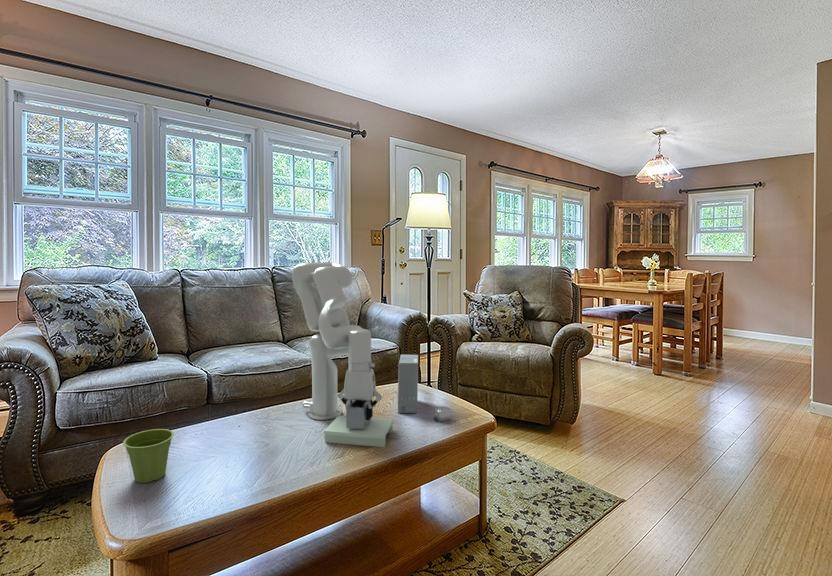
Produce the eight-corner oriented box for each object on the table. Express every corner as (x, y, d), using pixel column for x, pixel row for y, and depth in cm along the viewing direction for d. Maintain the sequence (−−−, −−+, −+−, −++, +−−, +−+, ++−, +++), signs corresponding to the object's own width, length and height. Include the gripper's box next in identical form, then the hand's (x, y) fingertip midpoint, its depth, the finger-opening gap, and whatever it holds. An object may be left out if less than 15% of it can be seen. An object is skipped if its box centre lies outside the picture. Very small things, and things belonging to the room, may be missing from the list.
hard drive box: (417, 414, 168) (417, 363, 166) (397, 413, 168) (397, 363, 166) (417, 400, 183) (418, 354, 182) (399, 400, 183) (400, 353, 182)
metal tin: (433, 422, 160) (433, 411, 160) (435, 416, 166) (435, 406, 165) (449, 423, 159) (449, 412, 159) (450, 417, 165) (450, 407, 164)
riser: (324, 442, 142) (324, 431, 141) (338, 426, 155) (338, 415, 155) (383, 447, 138) (383, 435, 138) (393, 430, 152) (393, 419, 152)
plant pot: (120, 492, 112) (118, 450, 111) (130, 471, 122) (128, 432, 121) (172, 483, 116) (171, 442, 115) (177, 463, 127) (176, 426, 126)
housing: (355, 416, 152) (355, 397, 151) (372, 417, 151) (372, 398, 150) (346, 427, 142) (346, 407, 141) (364, 429, 141) (364, 408, 140)
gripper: (387, 364, 147) (387, 415, 149) (338, 361, 150) (339, 412, 152) (382, 370, 140) (381, 424, 141) (331, 367, 143) (331, 420, 144)
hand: (359, 417), depth 146 cm, fingers closed on housing, 5 cm apart
